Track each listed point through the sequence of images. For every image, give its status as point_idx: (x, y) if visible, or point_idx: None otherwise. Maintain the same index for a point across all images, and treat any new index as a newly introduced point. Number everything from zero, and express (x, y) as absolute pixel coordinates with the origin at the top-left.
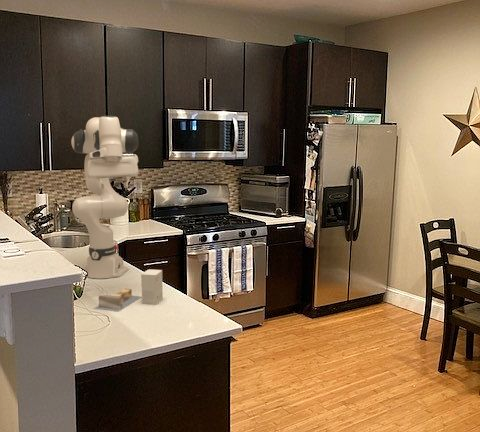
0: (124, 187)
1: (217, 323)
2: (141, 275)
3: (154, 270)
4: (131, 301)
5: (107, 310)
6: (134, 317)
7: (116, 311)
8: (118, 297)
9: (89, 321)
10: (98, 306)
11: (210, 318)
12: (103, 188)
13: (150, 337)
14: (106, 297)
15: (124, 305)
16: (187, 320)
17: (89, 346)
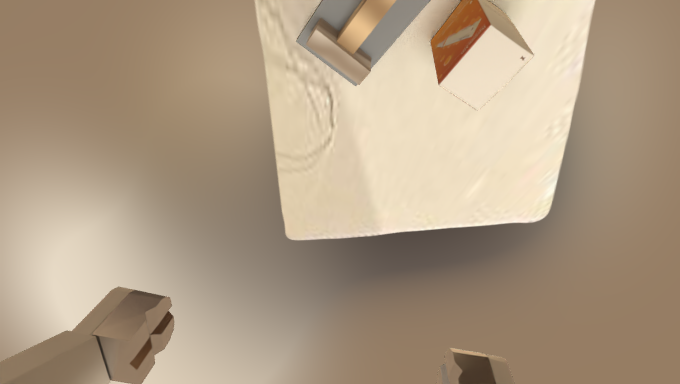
0: (443, 366)
1: (524, 197)
2: (438, 83)
3: (503, 55)
4: (407, 10)
5: (331, 67)
6: (386, 121)
7: (352, 83)
8: (359, 77)
9: (290, 113)
10: (309, 27)
11: (530, 174)
12: (170, 322)
13: (388, 208)
14: (327, 60)
15: (380, 42)
16: (482, 169)
17: (295, 207)
